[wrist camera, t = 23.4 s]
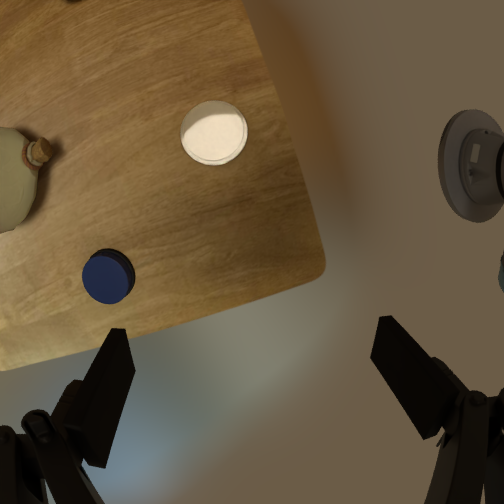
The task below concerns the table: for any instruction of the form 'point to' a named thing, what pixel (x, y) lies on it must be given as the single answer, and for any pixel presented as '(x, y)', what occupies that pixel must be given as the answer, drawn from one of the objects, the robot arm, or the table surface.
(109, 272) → the jar lid
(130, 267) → the coaster
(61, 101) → the table surface
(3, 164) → the flask
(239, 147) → the jar
